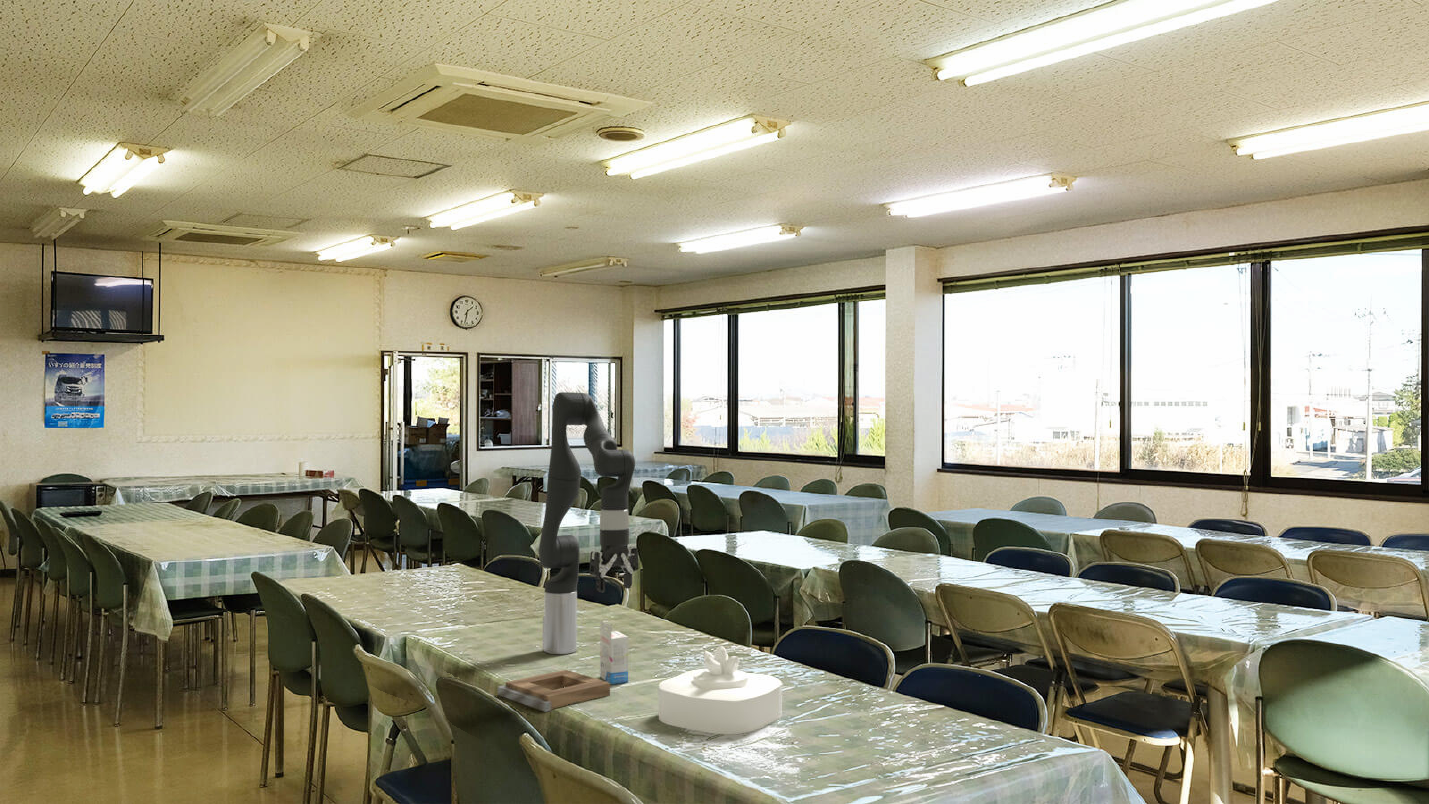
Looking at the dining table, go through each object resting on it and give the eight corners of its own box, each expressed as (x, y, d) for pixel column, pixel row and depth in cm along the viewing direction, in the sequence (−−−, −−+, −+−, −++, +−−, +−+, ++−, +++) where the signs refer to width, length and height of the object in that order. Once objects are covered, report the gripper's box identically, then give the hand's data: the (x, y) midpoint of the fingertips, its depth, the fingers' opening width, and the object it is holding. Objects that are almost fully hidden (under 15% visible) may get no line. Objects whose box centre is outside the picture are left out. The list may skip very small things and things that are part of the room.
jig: (497, 694, 253) (497, 682, 253) (563, 680, 267) (563, 669, 267) (545, 711, 239) (545, 698, 239) (612, 696, 252) (612, 683, 253)
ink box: (629, 682, 265) (629, 624, 266) (610, 684, 263) (610, 626, 263) (617, 675, 273) (617, 618, 273) (599, 677, 271) (599, 620, 271)
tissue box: (740, 740, 220) (740, 663, 220) (643, 721, 233) (644, 649, 233) (794, 711, 241) (794, 641, 241) (703, 695, 254) (703, 629, 254)
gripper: (626, 524, 276) (626, 585, 276) (583, 528, 266) (583, 591, 266) (645, 526, 271) (644, 588, 271) (601, 530, 261) (601, 595, 261)
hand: (614, 590), depth 268 cm, fingers open, 8 cm apart
